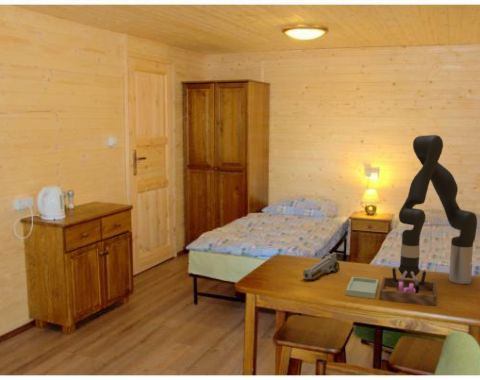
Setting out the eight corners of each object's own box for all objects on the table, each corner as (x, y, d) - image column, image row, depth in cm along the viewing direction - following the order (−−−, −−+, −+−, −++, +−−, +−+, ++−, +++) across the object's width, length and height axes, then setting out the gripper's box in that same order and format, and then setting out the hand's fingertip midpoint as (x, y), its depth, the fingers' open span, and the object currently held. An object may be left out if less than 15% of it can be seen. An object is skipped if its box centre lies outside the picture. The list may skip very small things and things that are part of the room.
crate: (434, 291, 226) (435, 282, 225) (435, 306, 208) (436, 296, 208) (383, 285, 233) (383, 276, 233) (379, 299, 215) (380, 290, 215)
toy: (340, 270, 254) (339, 252, 251) (312, 291, 238) (310, 271, 235) (331, 268, 258) (329, 249, 255) (303, 288, 242) (300, 268, 239)
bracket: (411, 301, 214) (412, 285, 213) (397, 298, 216) (398, 282, 215) (417, 291, 225) (418, 276, 224) (404, 289, 228) (404, 274, 227)
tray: (378, 284, 234) (378, 279, 233) (374, 298, 216) (374, 293, 216) (351, 281, 238) (352, 276, 237) (345, 295, 220) (346, 289, 220)
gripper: (428, 254, 219) (425, 291, 222) (392, 250, 224) (391, 287, 226) (428, 258, 212) (425, 297, 215) (391, 255, 217) (389, 293, 219)
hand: (407, 292), depth 220 cm, fingers closed on bracket, 6 cm apart
